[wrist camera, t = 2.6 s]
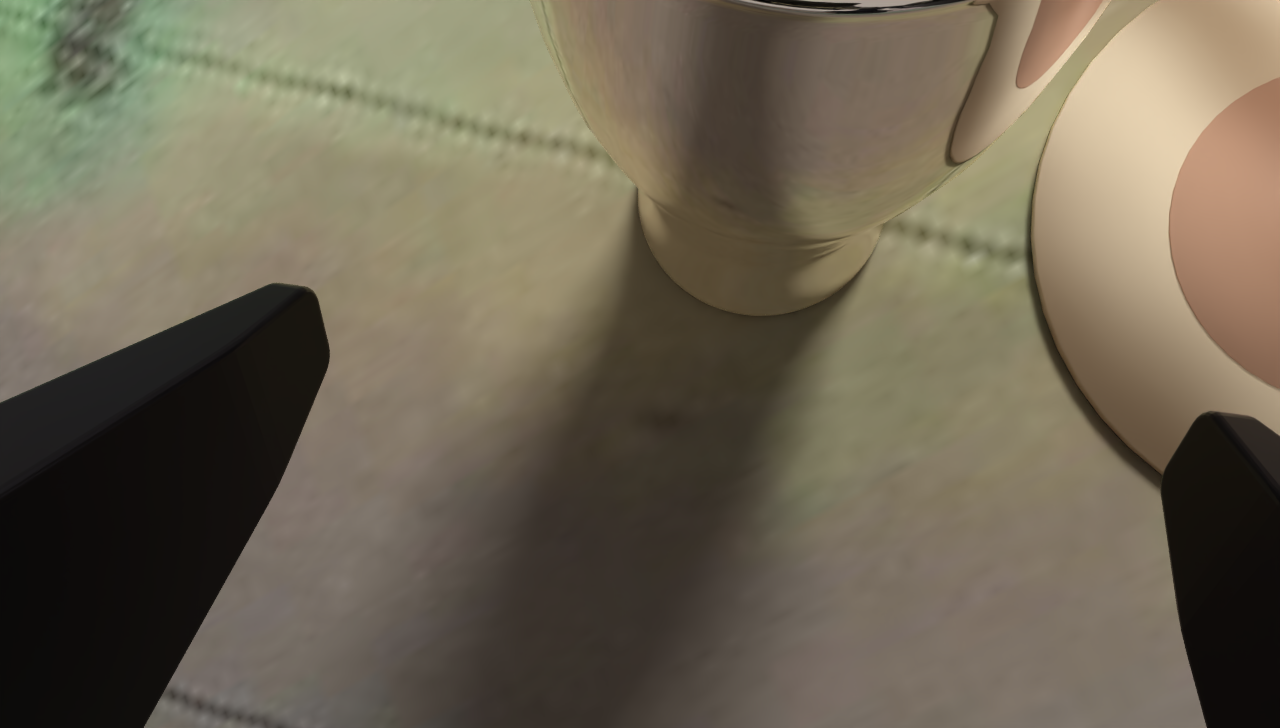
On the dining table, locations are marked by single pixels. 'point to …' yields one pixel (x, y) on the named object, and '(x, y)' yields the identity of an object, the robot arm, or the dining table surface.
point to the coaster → (1168, 222)
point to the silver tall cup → (797, 121)
